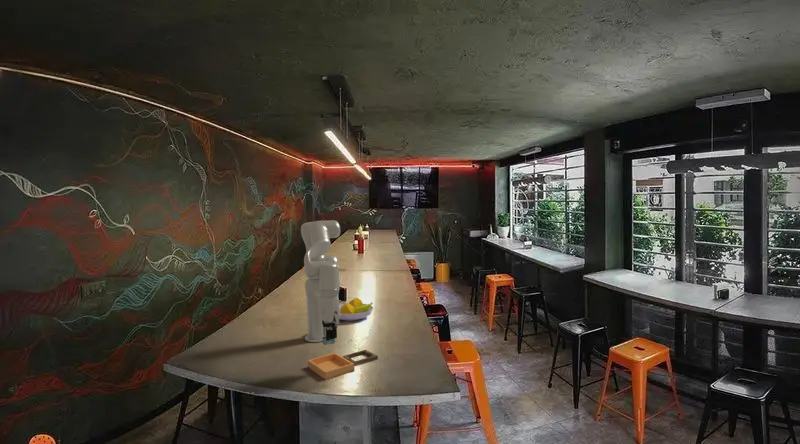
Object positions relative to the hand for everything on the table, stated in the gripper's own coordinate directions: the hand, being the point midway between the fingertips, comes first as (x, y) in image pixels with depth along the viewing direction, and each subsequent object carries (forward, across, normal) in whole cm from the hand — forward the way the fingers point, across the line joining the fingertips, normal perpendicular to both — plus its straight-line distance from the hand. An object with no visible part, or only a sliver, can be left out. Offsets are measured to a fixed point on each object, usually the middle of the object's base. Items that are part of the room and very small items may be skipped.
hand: (330, 336), depth 161 cm
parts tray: (+14, 0, 0) cm, 14 cm away
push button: (+3, 0, 0) cm, 3 cm away
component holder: (+14, -1, +15) cm, 20 cm away
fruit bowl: (+14, -59, +46) cm, 76 cm away
